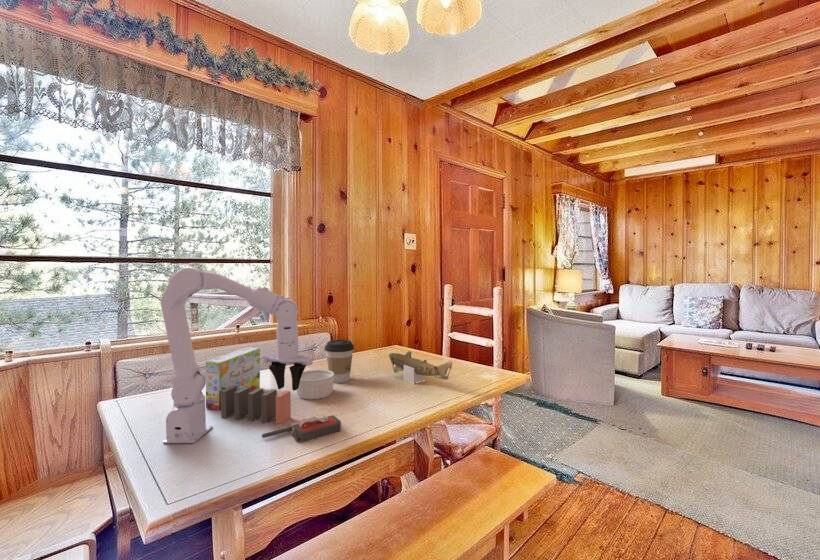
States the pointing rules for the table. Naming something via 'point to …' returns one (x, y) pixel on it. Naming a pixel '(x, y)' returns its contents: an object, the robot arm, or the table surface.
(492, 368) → the table surface
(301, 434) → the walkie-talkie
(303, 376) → the ramekin
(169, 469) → the table surface
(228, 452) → the table surface
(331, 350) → the coffee cup
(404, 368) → the wood carving
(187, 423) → the robot arm
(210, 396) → the snack box
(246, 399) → the domino
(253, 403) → the domino
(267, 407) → the domino
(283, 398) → the red domino
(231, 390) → the domino
